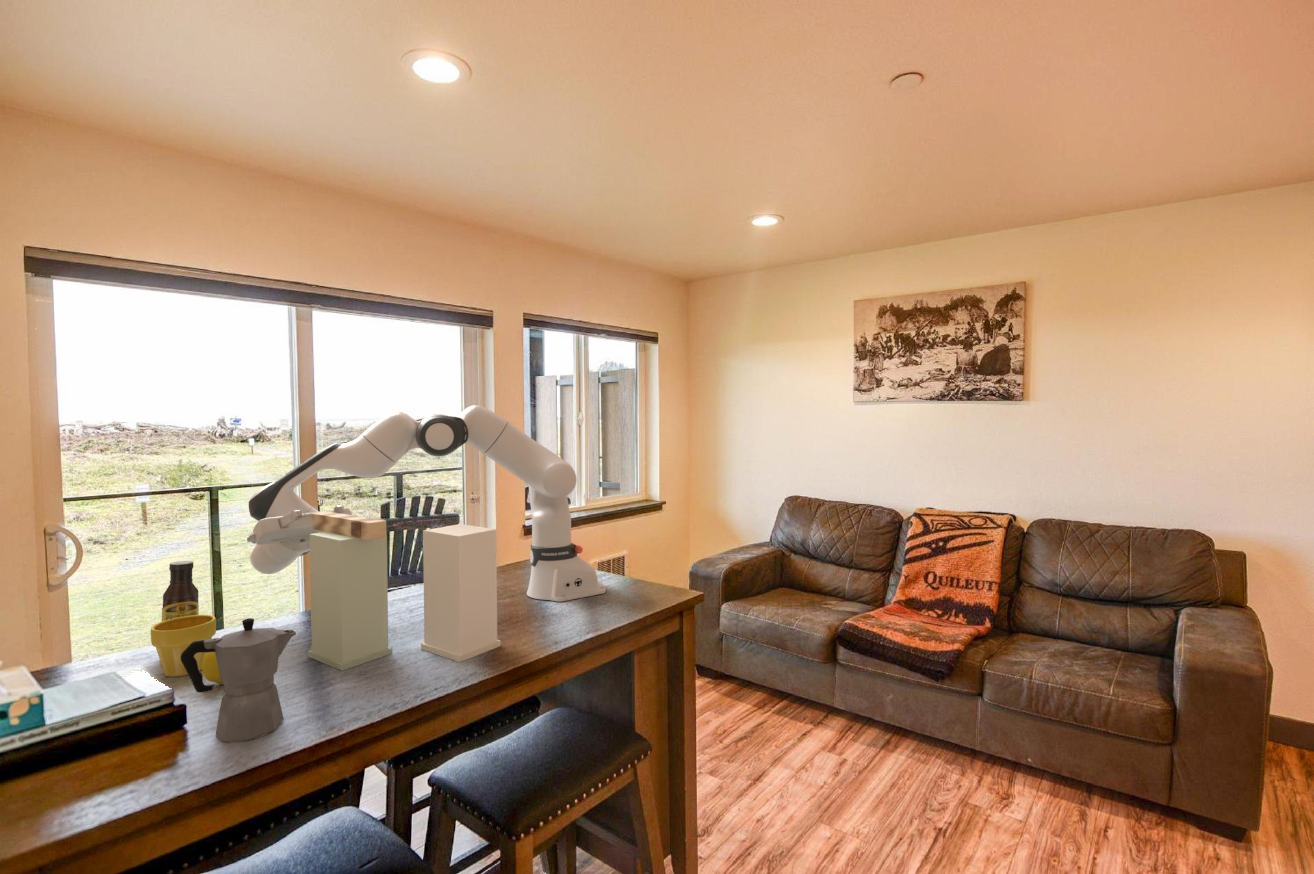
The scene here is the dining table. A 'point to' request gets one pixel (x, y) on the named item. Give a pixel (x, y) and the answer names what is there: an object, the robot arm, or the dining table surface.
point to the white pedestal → (460, 591)
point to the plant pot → (181, 640)
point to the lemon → (211, 668)
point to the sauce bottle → (180, 592)
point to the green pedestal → (348, 599)
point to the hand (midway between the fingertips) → (320, 510)
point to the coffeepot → (243, 679)
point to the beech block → (349, 525)
